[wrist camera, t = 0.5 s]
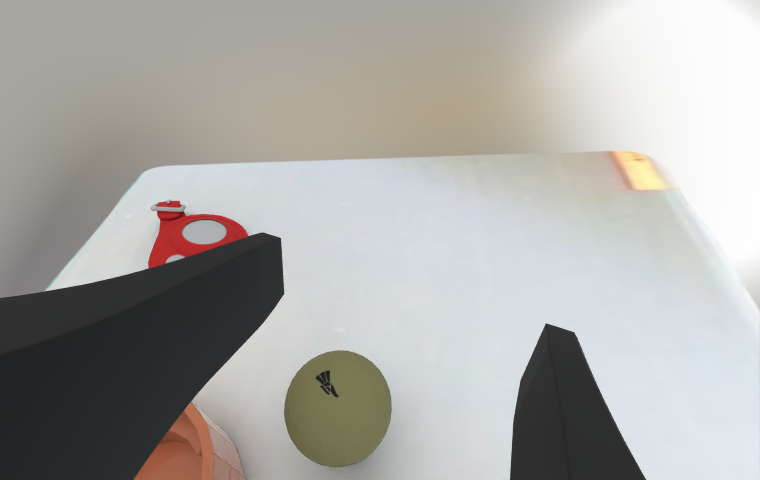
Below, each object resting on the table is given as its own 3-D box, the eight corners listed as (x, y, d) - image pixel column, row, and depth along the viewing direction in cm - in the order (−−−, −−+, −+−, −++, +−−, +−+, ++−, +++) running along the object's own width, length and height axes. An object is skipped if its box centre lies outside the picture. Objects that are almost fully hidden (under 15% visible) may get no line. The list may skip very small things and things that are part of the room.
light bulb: (295, 458, 25) (246, 400, 18) (347, 387, 28) (323, 313, 21) (363, 516, 23) (338, 476, 16) (412, 433, 26) (410, 366, 19)
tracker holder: (267, 222, 39) (202, 282, 32) (265, 254, 42) (205, 317, 34) (165, 181, 41) (78, 229, 33) (169, 215, 43) (89, 267, 36)
